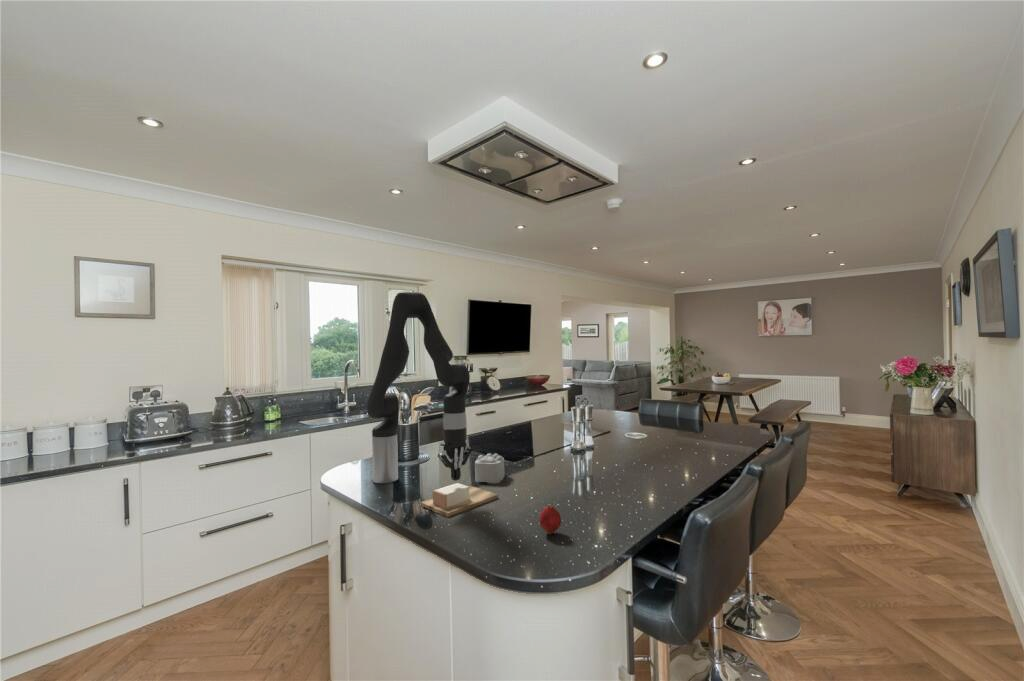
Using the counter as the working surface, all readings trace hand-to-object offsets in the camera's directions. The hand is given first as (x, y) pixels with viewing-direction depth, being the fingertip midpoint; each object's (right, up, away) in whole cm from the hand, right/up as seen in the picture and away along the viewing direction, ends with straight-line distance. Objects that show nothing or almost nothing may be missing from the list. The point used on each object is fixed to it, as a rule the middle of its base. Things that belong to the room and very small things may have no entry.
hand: (455, 479), depth 140 cm
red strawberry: (+28, -7, -24) cm, 38 cm away
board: (+1, -8, +1) cm, 8 cm away
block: (+2, -4, +2) cm, 5 cm away
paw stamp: (+10, -8, +26) cm, 29 cm away
